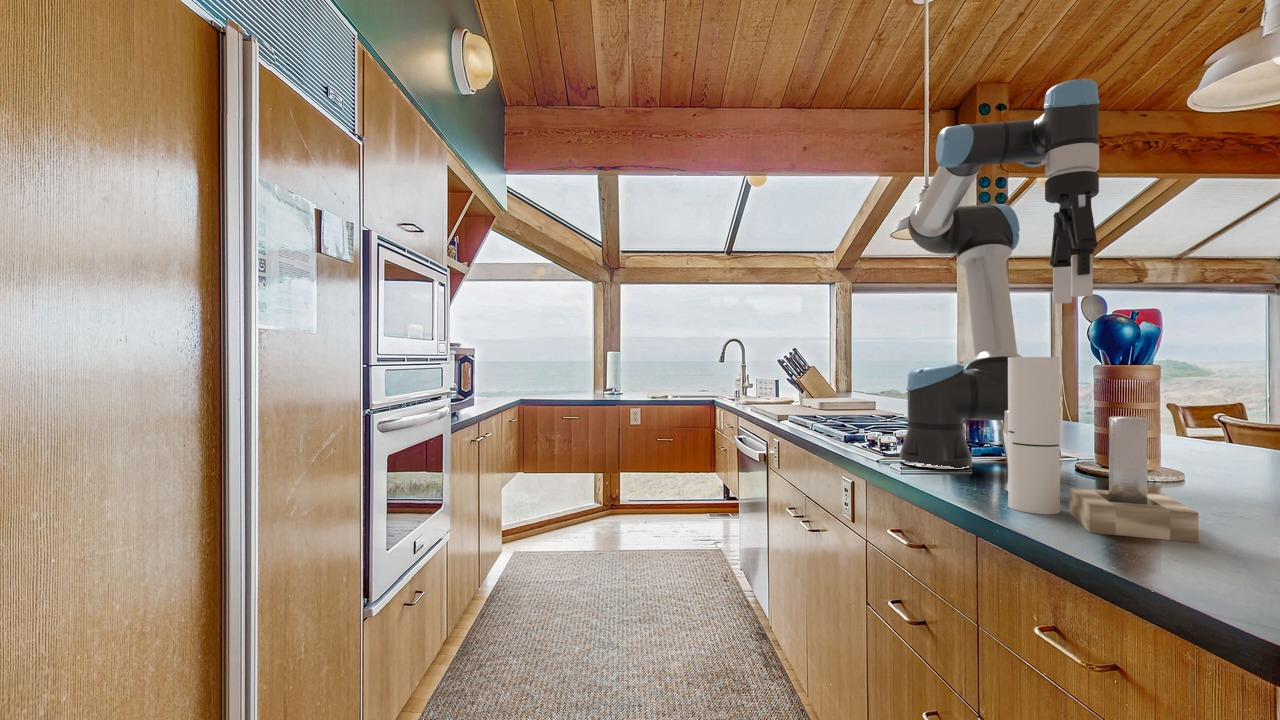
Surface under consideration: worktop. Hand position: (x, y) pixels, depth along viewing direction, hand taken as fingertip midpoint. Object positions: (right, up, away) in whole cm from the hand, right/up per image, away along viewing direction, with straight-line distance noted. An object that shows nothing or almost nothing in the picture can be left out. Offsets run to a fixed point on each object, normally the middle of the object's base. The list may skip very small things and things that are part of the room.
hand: (1071, 300), depth 103 cm
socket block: (-2, -35, -14) cm, 38 cm away
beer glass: (-3, -35, +9) cm, 36 cm away
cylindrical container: (-9, -35, -4) cm, 36 cm away
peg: (-2, -35, -14) cm, 38 cm away
